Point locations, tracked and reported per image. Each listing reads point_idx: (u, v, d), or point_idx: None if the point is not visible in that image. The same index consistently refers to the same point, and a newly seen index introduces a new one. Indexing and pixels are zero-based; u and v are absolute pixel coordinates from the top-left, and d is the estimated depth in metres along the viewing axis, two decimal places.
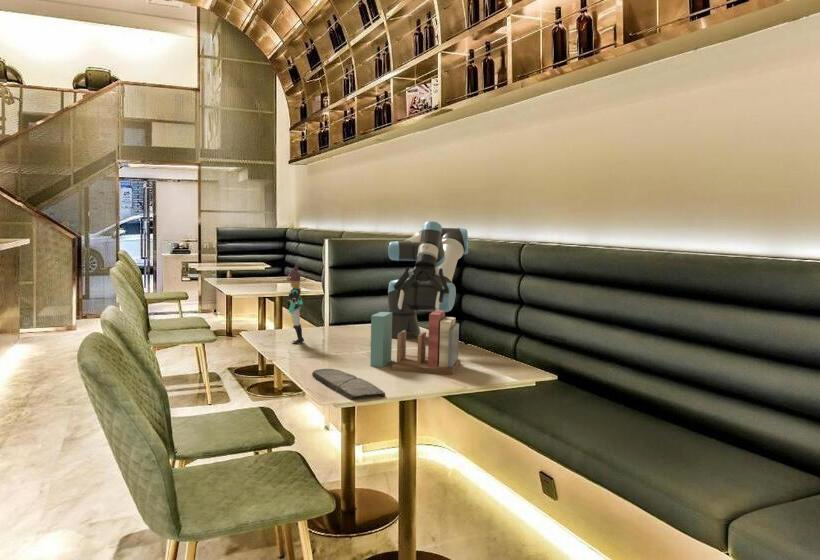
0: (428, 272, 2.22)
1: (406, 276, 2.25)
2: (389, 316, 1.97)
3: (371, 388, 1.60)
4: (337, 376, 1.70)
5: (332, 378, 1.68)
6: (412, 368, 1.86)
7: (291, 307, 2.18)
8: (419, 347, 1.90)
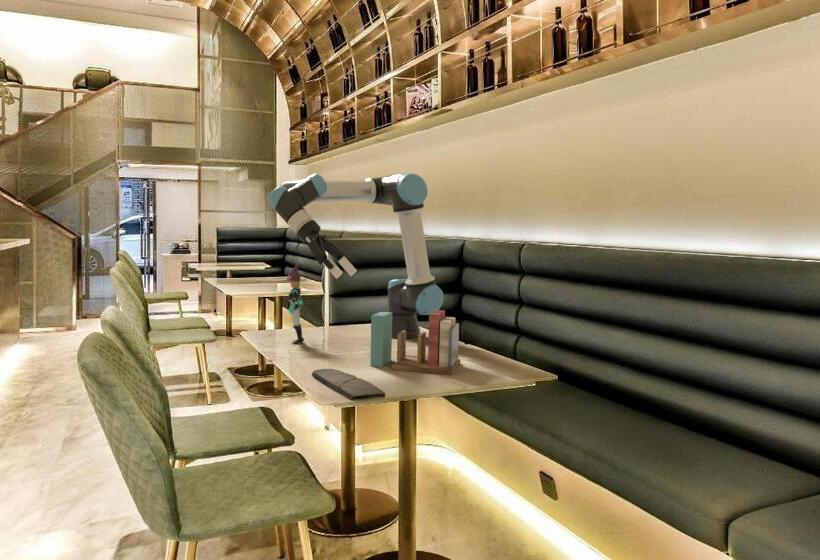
0: None
1: None
2: (389, 316, 1.97)
3: (371, 388, 1.61)
4: (337, 376, 1.70)
5: (332, 378, 1.68)
6: (412, 368, 1.86)
7: (291, 307, 2.18)
8: (419, 347, 1.90)
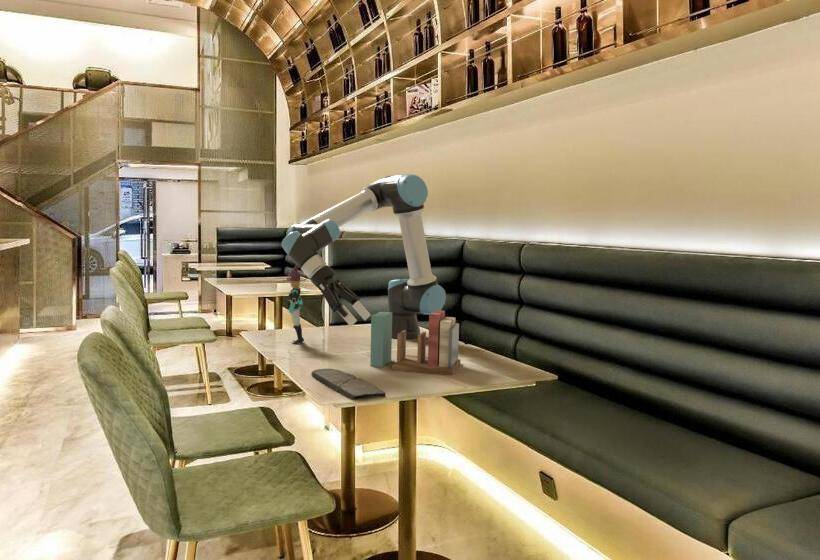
0: None
1: None
2: (389, 316, 1.97)
3: (371, 388, 1.61)
4: (337, 376, 1.71)
5: (332, 378, 1.68)
6: (412, 368, 1.86)
7: (291, 307, 2.18)
8: (419, 347, 1.90)
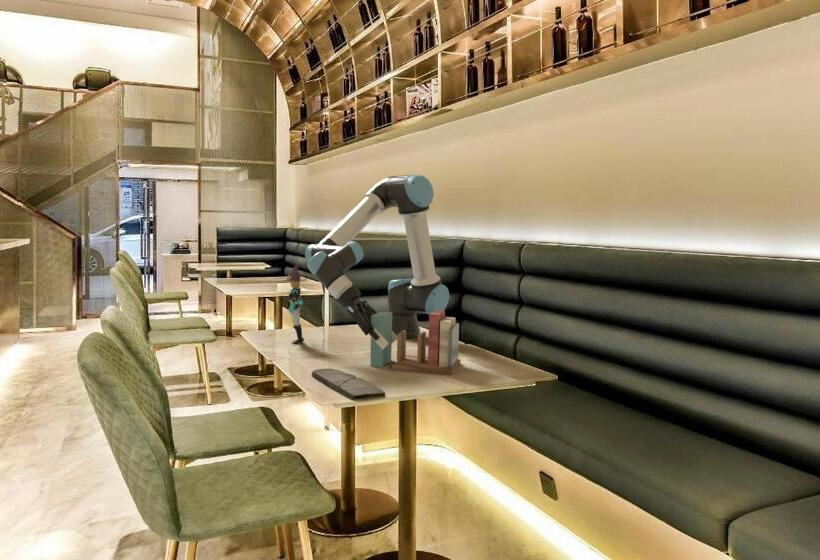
0: None
1: None
2: (389, 315, 1.97)
3: (371, 387, 1.61)
4: (337, 376, 1.71)
5: (332, 378, 1.69)
6: (412, 368, 1.86)
7: (291, 307, 2.18)
8: (419, 347, 1.90)
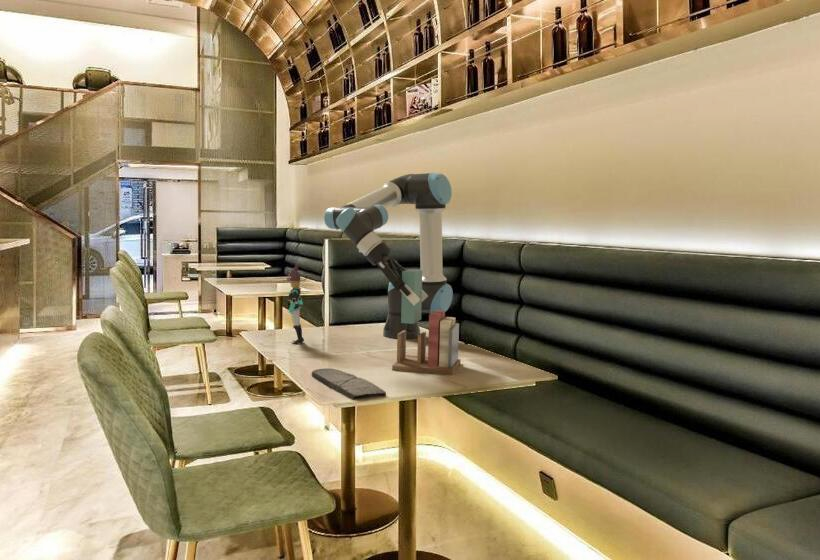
0: None
1: None
2: (419, 272, 1.93)
3: (372, 387, 1.61)
4: (337, 376, 1.71)
5: (332, 378, 1.69)
6: (412, 368, 1.86)
7: (291, 307, 2.18)
8: (419, 347, 1.90)
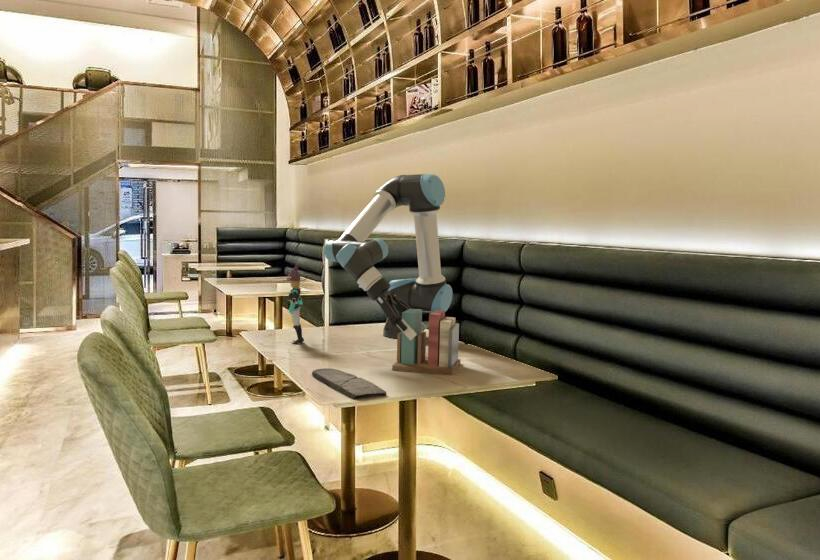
0: None
1: None
2: (419, 312, 1.94)
3: (372, 387, 1.61)
4: (337, 376, 1.71)
5: (333, 378, 1.69)
6: (412, 368, 1.86)
7: (291, 307, 2.18)
8: (419, 347, 1.90)
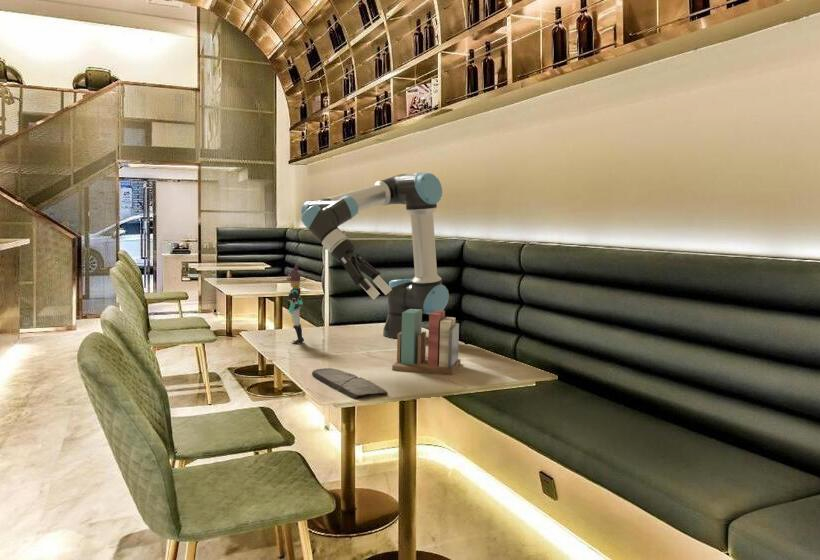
0: None
1: None
2: (419, 312, 1.94)
3: (373, 387, 1.62)
4: (338, 375, 1.71)
5: (333, 378, 1.69)
6: (412, 368, 1.86)
7: (291, 307, 2.18)
8: (419, 347, 1.90)
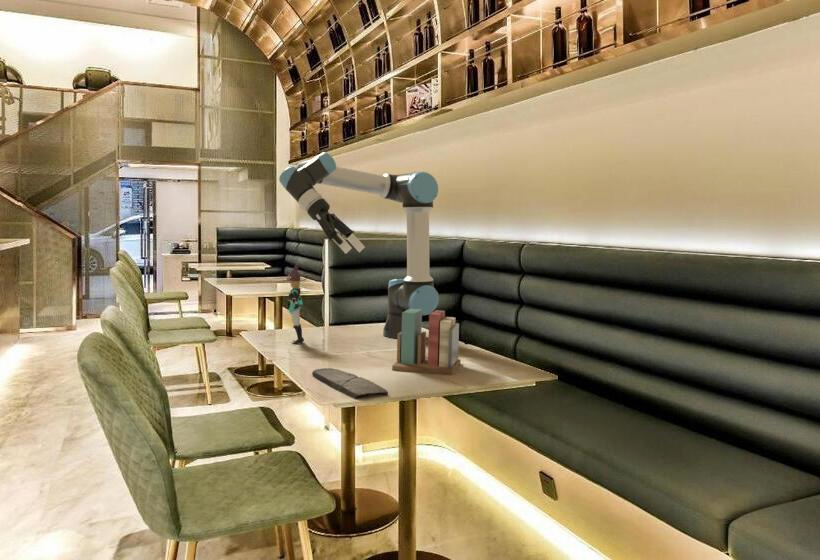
0: None
1: None
2: (419, 312, 1.94)
3: (374, 387, 1.62)
4: (338, 375, 1.71)
5: (334, 378, 1.69)
6: (412, 368, 1.86)
7: (291, 307, 2.18)
8: (419, 347, 1.90)
